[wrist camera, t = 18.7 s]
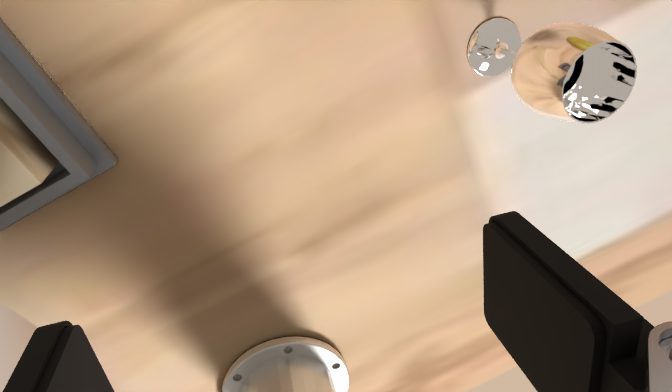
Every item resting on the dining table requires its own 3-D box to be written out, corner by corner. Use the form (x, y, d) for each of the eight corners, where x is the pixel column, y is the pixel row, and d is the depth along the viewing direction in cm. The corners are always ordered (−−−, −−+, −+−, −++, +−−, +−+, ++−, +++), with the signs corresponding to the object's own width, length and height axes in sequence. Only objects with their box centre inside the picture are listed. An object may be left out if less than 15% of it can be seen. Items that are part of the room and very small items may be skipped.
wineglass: (444, 53, 37) (532, 92, 26) (498, -9, 36) (613, 5, 25) (490, 99, 39) (587, 151, 29) (541, 42, 38) (662, 75, 28)
